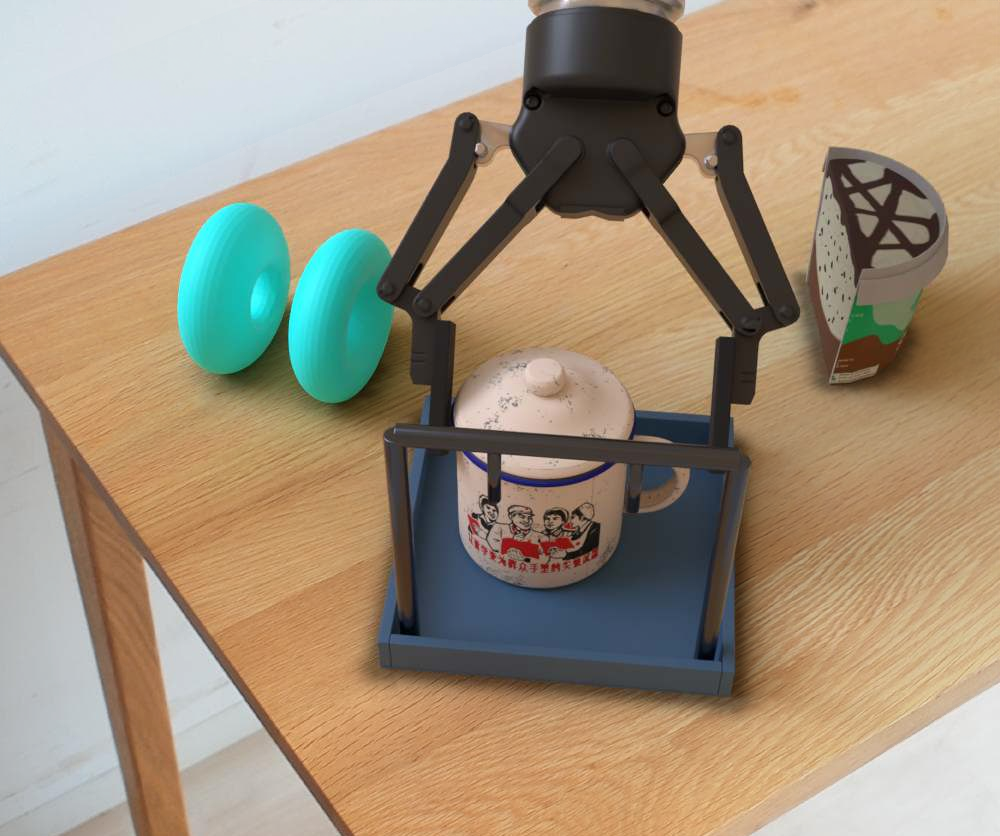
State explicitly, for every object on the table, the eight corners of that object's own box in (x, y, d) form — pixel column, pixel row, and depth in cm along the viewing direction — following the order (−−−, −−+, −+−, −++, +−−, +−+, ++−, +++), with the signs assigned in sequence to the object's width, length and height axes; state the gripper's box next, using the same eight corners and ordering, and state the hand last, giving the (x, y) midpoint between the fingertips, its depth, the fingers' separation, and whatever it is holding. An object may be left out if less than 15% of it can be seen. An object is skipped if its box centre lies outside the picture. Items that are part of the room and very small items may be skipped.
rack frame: (710, 673, 72) (753, 443, 60) (709, 690, 71) (753, 461, 59) (403, 647, 73) (383, 416, 61) (400, 663, 72) (380, 433, 60)
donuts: (260, 296, 91) (238, 163, 83) (407, 333, 89) (398, 200, 81) (184, 401, 85) (154, 268, 77) (340, 443, 82) (324, 310, 75)
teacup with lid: (443, 587, 74) (436, 429, 66) (466, 459, 80) (462, 299, 72) (676, 608, 74) (700, 451, 65) (682, 477, 80) (704, 317, 71)
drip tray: (727, 451, 82) (733, 416, 80) (728, 705, 71) (735, 672, 69) (427, 429, 83) (425, 394, 81) (380, 675, 72) (376, 642, 70)
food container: (936, 409, 84) (979, 276, 77) (831, 410, 84) (864, 276, 77) (896, 273, 92) (932, 140, 85) (800, 273, 92) (827, 140, 85)
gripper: (855, 53, 72) (822, 477, 73) (361, 31, 74) (338, 445, 75) (883, 11, 65) (847, 484, 66) (333, -13, 66) (308, 448, 68)
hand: (575, 464), depth 71 cm, fingers open, 13 cm apart
